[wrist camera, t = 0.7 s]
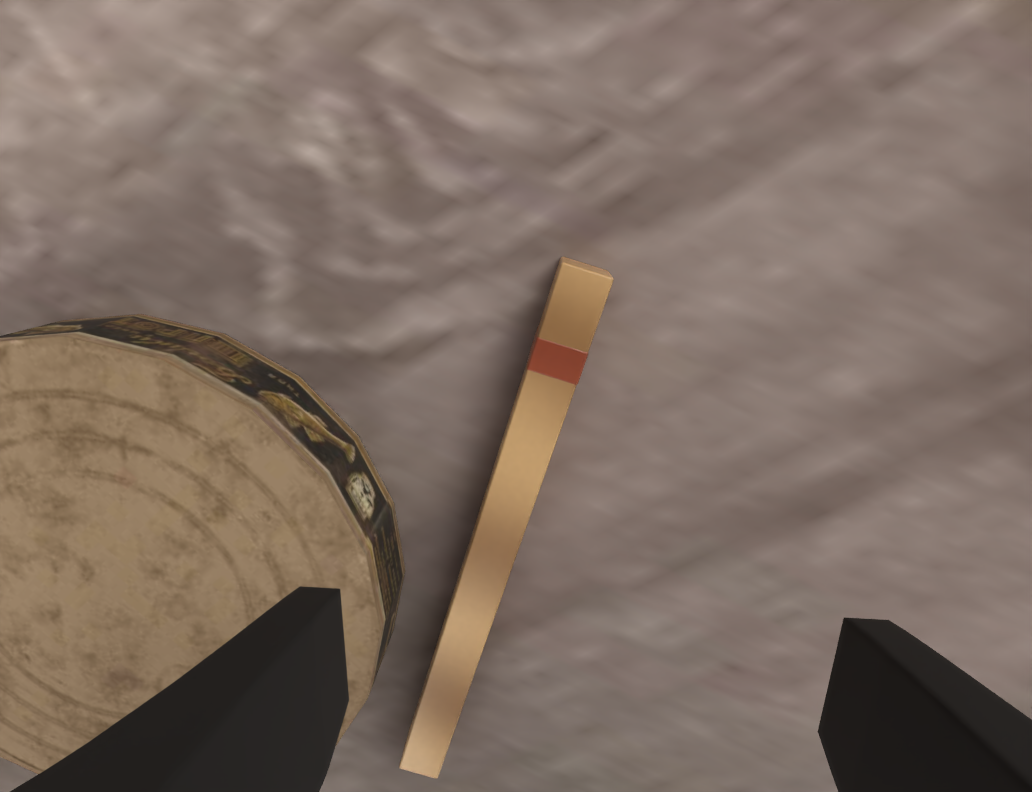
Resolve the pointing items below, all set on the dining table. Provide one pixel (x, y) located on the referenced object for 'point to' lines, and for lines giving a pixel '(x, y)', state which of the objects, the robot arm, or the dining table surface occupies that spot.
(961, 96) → the dining table surface
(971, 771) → the robot arm
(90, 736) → the tin can
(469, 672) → the rail
